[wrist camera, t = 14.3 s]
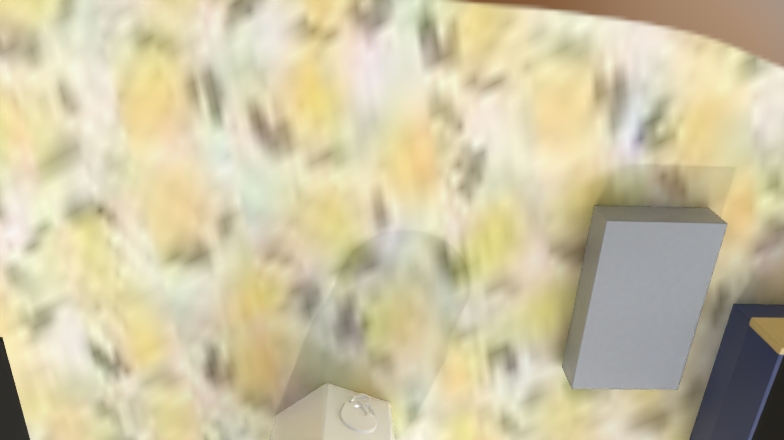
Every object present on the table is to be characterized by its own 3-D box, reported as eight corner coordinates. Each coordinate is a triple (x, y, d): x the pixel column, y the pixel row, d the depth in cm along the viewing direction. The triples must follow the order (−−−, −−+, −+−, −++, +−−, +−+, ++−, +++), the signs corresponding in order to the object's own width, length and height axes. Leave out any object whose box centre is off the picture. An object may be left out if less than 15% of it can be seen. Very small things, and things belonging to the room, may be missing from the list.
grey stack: (577, 180, 38) (606, 213, 34) (688, 182, 38) (731, 216, 34) (548, 340, 43) (569, 389, 39) (647, 342, 44) (679, 390, 39)
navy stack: (707, 280, 42) (748, 323, 37) (836, 282, 42) (893, 324, 38) (665, 419, 47) (697, 471, 42) (781, 419, 47) (825, 471, 43)
